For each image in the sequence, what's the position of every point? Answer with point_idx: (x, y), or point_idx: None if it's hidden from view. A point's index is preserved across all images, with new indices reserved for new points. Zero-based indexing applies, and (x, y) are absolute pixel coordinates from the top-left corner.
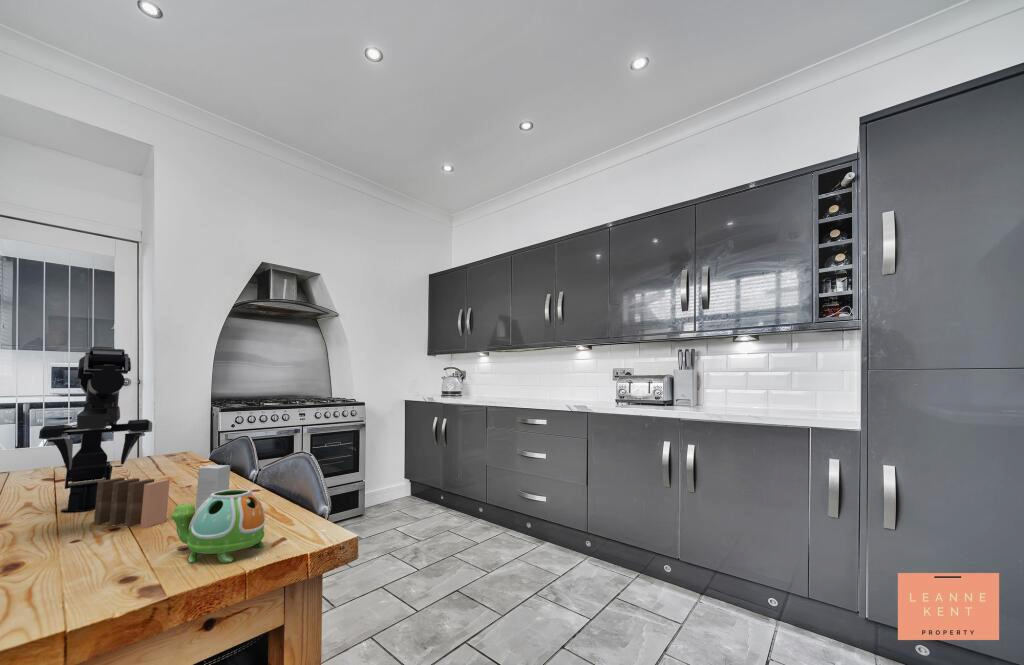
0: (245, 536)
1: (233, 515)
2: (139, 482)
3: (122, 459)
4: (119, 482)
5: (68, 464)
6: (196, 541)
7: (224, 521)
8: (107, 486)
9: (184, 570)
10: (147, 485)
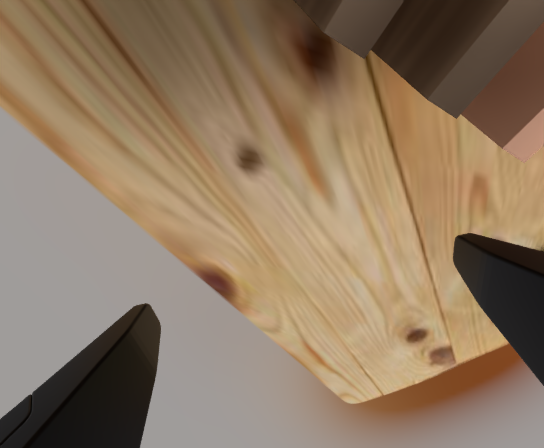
0: None
1: None
2: (483, 87)
3: (481, 291)
4: (365, 40)
5: (153, 365)
6: None
7: None
8: None
9: (479, 322)
10: (511, 153)
